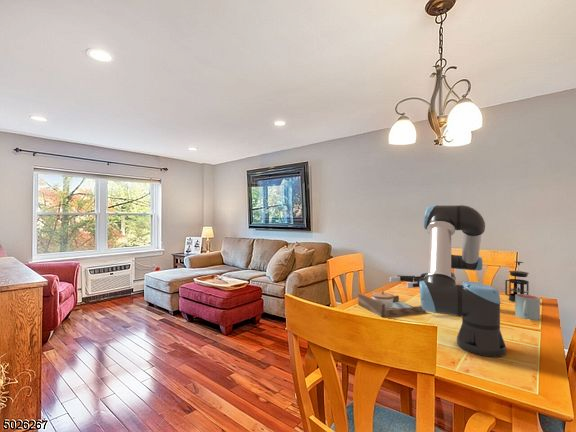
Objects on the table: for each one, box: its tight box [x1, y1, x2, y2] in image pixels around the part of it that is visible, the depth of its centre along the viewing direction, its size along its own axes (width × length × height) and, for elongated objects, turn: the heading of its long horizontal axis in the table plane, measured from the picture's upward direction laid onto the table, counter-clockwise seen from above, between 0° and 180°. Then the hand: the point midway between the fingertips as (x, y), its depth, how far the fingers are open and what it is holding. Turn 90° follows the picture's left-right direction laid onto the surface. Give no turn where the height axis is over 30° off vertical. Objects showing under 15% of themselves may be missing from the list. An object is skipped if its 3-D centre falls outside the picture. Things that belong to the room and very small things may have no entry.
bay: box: [357, 293, 426, 318], centre depth 154 cm, size 26×21×6 cm
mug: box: [514, 293, 541, 321], centre depth 140 cm, size 14×9×10 cm
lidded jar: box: [371, 290, 395, 310], centre depth 152 cm, size 11×11×9 cm
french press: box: [504, 260, 530, 303], centre depth 170 cm, size 12×9×23 cm
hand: (398, 282), depth 156 cm, fingers open, 13 cm apart
